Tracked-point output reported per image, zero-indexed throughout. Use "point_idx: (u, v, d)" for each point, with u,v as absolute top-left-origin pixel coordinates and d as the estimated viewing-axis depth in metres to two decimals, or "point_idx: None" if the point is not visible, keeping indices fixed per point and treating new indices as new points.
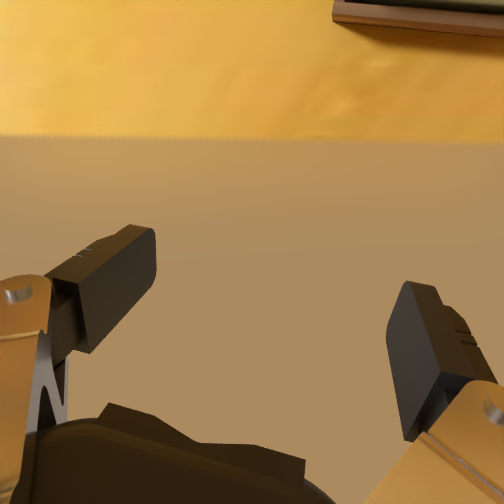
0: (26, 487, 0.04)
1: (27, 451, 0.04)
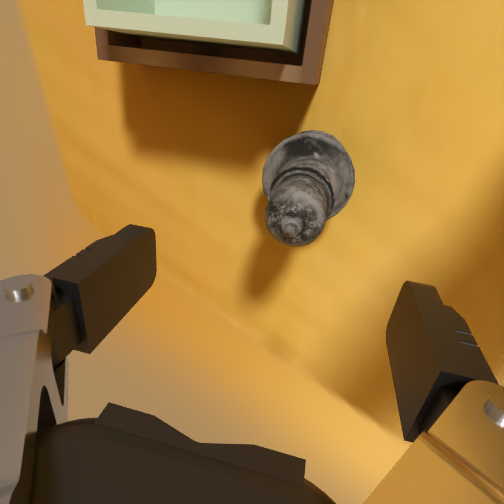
0: (26, 487, 0.04)
1: (27, 451, 0.04)
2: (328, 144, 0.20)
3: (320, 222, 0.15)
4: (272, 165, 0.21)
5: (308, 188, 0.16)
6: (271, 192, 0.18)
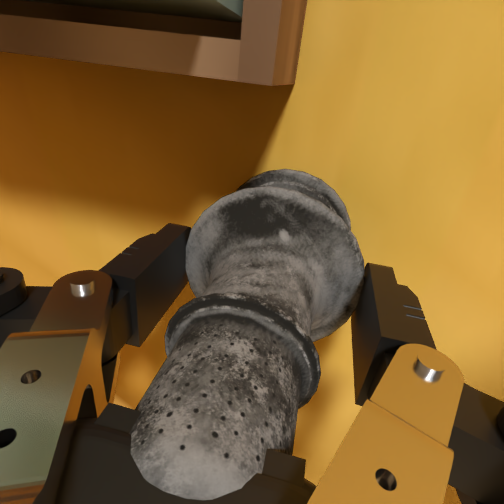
0: (52, 492, 0.04)
1: (59, 454, 0.04)
2: (309, 212, 0.09)
3: None
4: (200, 246, 0.11)
5: (235, 411, 0.05)
6: (169, 342, 0.08)
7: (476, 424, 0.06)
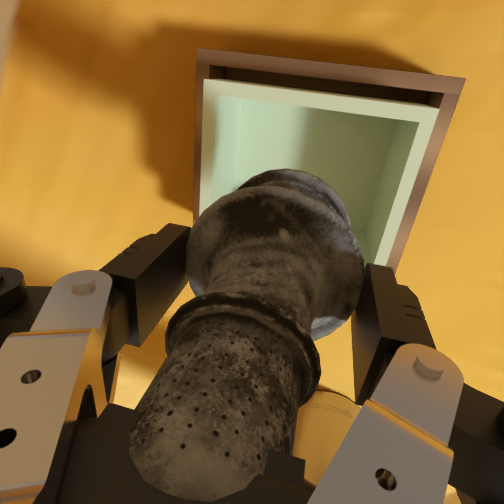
0: (52, 492, 0.04)
1: (59, 454, 0.04)
2: (309, 211, 0.09)
3: None
4: (200, 245, 0.11)
5: (235, 409, 0.05)
6: (169, 342, 0.08)
7: (476, 424, 0.06)
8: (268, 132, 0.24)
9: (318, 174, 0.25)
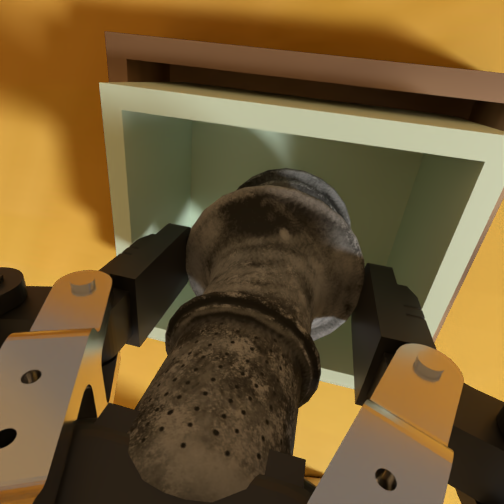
0: (53, 492, 0.04)
1: (59, 454, 0.04)
2: (309, 210, 0.09)
3: None
4: (200, 244, 0.11)
5: (235, 408, 0.05)
6: (170, 341, 0.08)
7: (476, 424, 0.06)
8: (233, 159, 0.16)
9: None
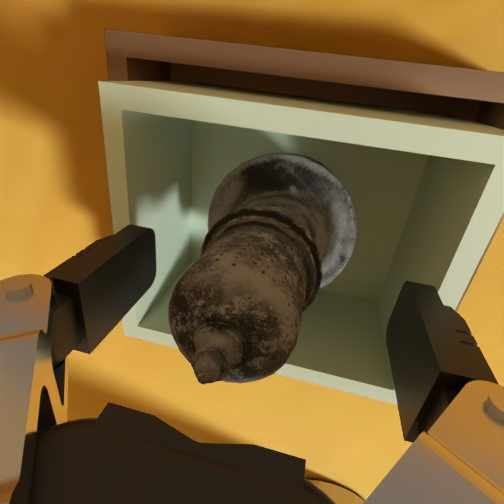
0: (27, 487, 0.04)
1: (27, 451, 0.04)
2: (313, 173, 0.12)
3: (287, 340, 0.06)
4: (223, 203, 0.13)
5: (265, 257, 0.07)
6: (204, 252, 0.10)
7: None
8: (234, 159, 0.16)
9: None
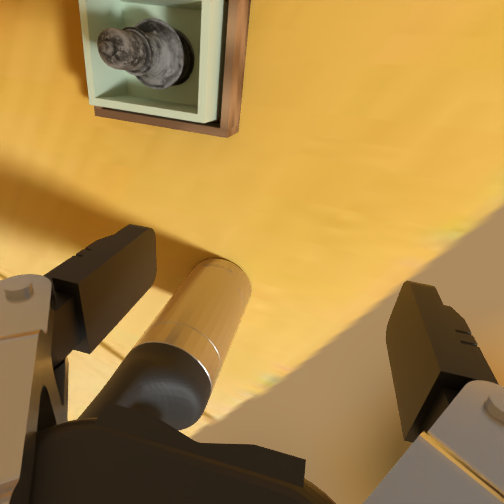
0: (27, 487, 0.04)
1: (27, 451, 0.04)
2: (163, 26, 0.31)
3: (126, 48, 0.26)
4: None
5: (123, 30, 0.26)
6: None
7: None
8: None
9: None
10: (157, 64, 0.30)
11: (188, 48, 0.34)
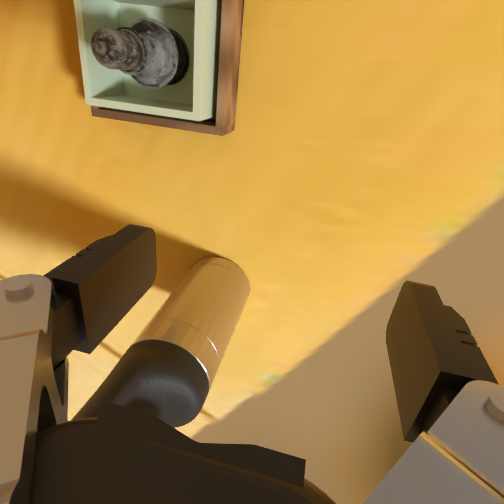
0: (27, 487, 0.04)
1: (27, 451, 0.04)
2: (157, 25, 0.31)
3: (119, 48, 0.26)
4: None
5: (116, 30, 0.26)
6: None
7: None
8: None
9: None
10: (151, 63, 0.31)
11: (183, 47, 0.34)
